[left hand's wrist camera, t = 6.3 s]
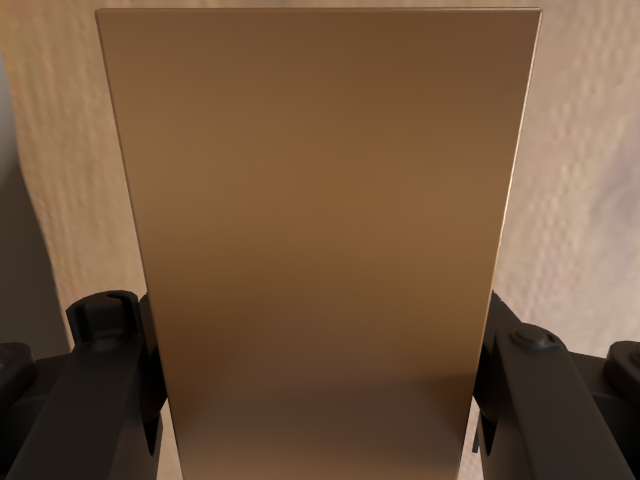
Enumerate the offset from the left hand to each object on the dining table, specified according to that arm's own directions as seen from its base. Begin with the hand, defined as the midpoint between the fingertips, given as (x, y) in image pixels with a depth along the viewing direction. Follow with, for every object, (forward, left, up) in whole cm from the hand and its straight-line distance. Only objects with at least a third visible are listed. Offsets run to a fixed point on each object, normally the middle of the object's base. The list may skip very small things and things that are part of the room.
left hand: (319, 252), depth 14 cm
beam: (+21, +4, -1) cm, 21 cm away
